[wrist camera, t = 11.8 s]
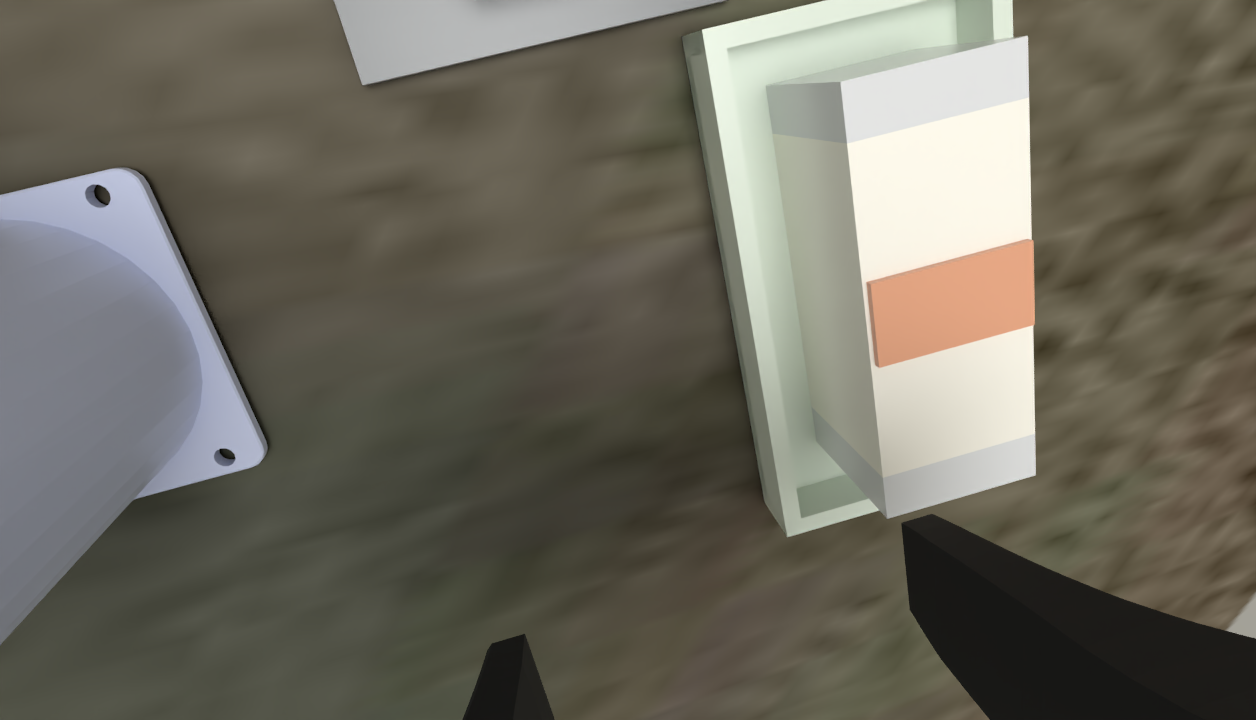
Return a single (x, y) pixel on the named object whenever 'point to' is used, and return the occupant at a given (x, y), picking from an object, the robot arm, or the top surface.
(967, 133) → the fuse
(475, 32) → the board
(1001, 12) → the tray
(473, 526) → the top surface
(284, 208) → the top surface
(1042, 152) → the top surface
